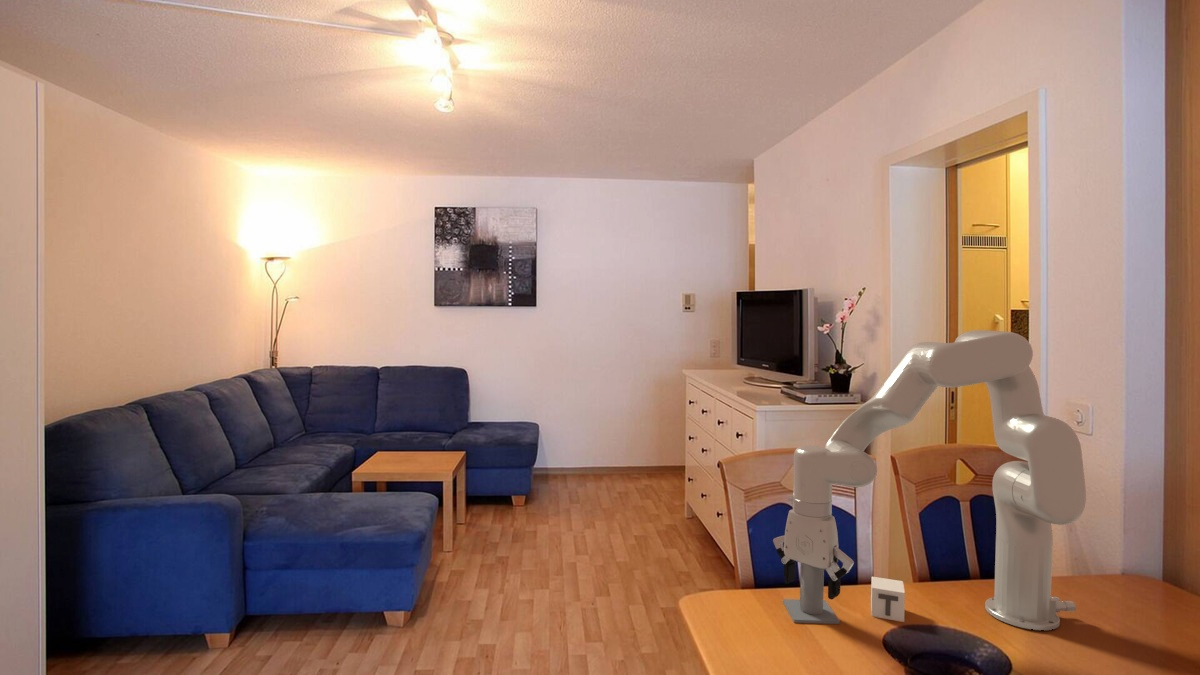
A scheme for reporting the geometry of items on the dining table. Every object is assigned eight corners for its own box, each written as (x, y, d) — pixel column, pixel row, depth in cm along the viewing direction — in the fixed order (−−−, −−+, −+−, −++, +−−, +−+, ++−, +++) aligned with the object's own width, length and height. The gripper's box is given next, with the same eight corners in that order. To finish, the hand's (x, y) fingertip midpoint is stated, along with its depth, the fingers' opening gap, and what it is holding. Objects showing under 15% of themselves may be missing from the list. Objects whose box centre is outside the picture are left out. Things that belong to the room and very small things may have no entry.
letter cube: (870, 604, 131) (871, 576, 131) (902, 609, 129) (902, 581, 129) (871, 617, 125) (872, 588, 125) (904, 623, 123) (904, 593, 123)
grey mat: (825, 602, 131) (825, 600, 131) (839, 624, 122) (839, 621, 122) (782, 601, 132) (782, 599, 132) (793, 622, 123) (794, 619, 123)
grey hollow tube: (819, 604, 129) (821, 556, 128) (825, 615, 125) (826, 566, 124) (797, 603, 129) (798, 555, 129) (802, 614, 125) (803, 565, 124)
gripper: (765, 501, 130) (764, 581, 131) (844, 521, 117) (842, 609, 118) (784, 494, 135) (783, 571, 136) (862, 513, 122) (860, 597, 123)
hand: (811, 589), depth 127 cm, fingers open, 9 cm apart
